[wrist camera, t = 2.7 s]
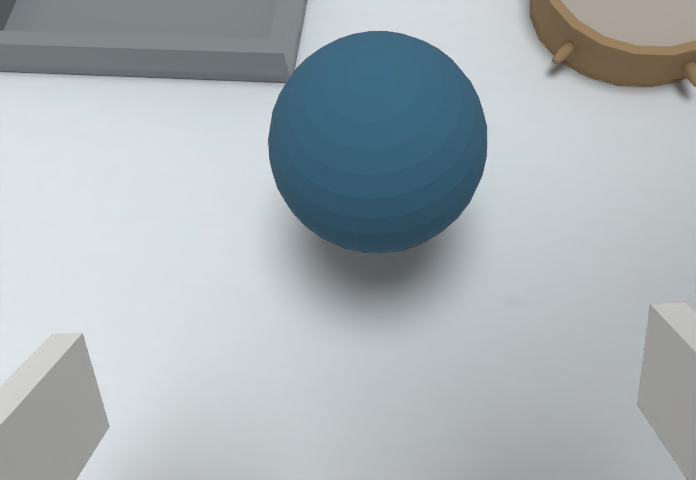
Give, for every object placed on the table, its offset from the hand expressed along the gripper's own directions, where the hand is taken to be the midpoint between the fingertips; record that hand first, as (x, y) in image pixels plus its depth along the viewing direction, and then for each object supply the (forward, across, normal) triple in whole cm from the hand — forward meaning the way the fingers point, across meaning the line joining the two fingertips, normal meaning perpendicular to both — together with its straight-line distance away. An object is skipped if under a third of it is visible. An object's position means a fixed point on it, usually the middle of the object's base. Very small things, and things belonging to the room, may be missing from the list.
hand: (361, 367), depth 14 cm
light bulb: (+16, +1, -3) cm, 17 cm away
